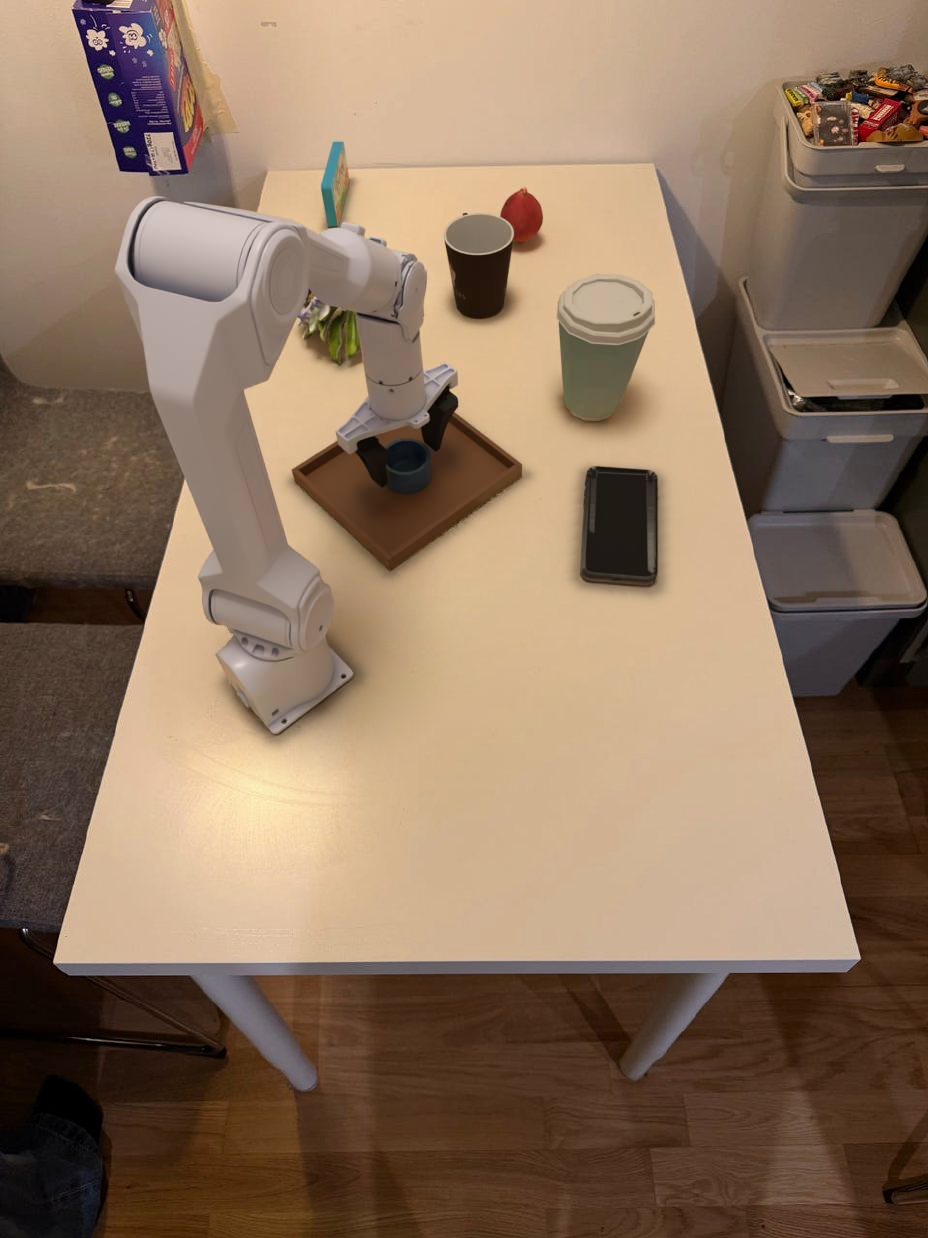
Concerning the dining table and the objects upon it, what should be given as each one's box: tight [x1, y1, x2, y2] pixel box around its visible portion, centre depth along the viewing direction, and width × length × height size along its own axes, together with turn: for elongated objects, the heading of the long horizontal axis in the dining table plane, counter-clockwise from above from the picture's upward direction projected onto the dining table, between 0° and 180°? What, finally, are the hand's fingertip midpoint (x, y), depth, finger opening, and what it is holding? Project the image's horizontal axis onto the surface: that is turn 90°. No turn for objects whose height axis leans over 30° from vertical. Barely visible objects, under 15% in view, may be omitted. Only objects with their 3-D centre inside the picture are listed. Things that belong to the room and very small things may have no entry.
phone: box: [579, 465, 659, 587], centre depth 90 cm, size 8×1×15 cm
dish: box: [385, 438, 432, 494], centre depth 93 cm, size 5×5×3 cm
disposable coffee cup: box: [555, 273, 656, 422], centre depth 94 cm, size 11×11×15 cm
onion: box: [499, 186, 544, 244], centre depth 115 cm, size 6×6×8 cm
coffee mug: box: [443, 212, 514, 320], centre depth 108 cm, size 12×9×10 cm
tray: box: [291, 411, 523, 572], centre depth 94 cm, size 19×17×2 cm
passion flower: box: [297, 289, 361, 365], centre depth 105 cm, size 11×11×12 cm
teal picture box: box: [320, 141, 350, 228], centre depth 122 cm, size 12×2×6 cm, turn 176°
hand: (405, 463), depth 93 cm, fingers open, 7 cm apart
